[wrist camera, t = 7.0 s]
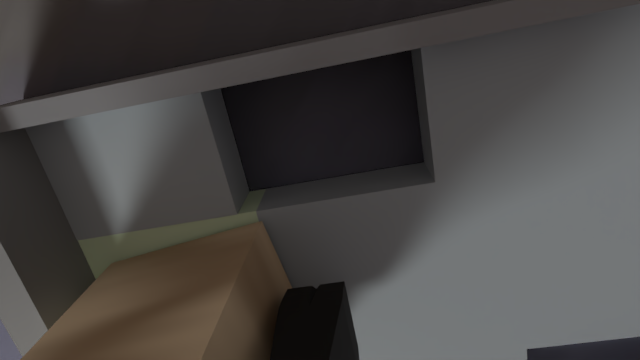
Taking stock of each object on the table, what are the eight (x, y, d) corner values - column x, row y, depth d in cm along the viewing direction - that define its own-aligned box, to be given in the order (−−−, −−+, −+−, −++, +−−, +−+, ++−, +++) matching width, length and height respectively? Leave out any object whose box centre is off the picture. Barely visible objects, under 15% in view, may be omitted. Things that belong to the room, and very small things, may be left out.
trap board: (956, -98, 9) (1323, -167, 5) (819, 370, 13) (974, 486, 10) (21, 99, 11) (-109, 132, 8) (173, 433, 16) (129, 541, 13)
